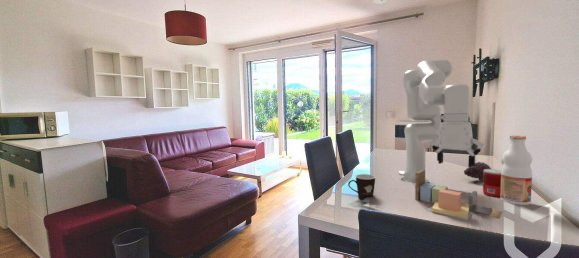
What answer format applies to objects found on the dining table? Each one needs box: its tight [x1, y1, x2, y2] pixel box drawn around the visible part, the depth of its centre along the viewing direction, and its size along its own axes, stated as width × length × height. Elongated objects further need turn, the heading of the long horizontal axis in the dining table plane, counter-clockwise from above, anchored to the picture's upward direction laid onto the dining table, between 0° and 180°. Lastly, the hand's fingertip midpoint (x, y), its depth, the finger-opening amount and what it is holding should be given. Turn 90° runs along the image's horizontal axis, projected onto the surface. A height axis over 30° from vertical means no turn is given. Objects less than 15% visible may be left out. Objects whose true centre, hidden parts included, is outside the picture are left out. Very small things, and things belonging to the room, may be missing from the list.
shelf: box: [414, 169, 503, 219], centre depth 102 cm, size 28×8×13 cm, turn 44°
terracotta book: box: [438, 189, 463, 211], centre depth 97 cm, size 4×6×6 cm, turn 44°
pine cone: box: [463, 161, 492, 182], centre depth 138 cm, size 18×10×10 cm, turn 89°
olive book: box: [431, 184, 449, 204], centre depth 107 cm, size 4×6×6 cm, turn 134°
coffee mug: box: [347, 173, 376, 201], centre depth 118 cm, size 12×9×10 cm
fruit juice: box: [499, 135, 533, 206], centre depth 105 cm, size 9×9×28 cm
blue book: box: [420, 182, 437, 203], centre depth 110 cm, size 4×6×6 cm, turn 134°
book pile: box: [426, 202, 474, 221], centre depth 97 cm, size 13×9×3 cm
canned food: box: [482, 168, 502, 198], centre depth 117 cm, size 8×8×11 cm
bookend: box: [468, 190, 493, 217], centre depth 97 cm, size 6×7×6 cm
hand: (455, 164), depth 96 cm, fingers open, 9 cm apart
